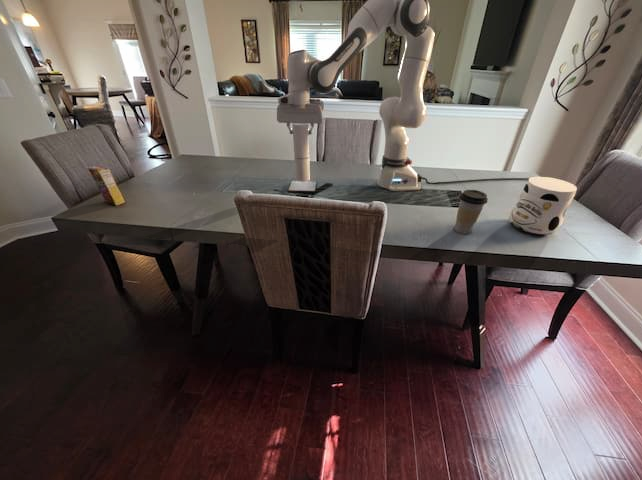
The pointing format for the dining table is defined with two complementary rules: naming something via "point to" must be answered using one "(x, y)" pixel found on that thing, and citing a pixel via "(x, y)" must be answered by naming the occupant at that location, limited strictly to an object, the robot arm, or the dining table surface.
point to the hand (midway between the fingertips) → (300, 134)
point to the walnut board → (302, 187)
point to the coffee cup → (469, 210)
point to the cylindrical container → (301, 151)
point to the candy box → (106, 185)
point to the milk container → (542, 205)
